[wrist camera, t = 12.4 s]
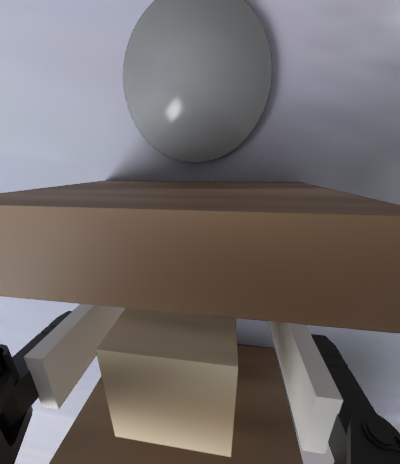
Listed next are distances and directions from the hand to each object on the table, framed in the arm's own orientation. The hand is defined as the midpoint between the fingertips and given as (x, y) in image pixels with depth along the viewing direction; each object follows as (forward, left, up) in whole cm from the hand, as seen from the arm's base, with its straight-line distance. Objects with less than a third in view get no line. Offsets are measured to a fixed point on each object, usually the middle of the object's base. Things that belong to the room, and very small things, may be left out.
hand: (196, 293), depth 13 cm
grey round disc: (-12, 0, 0) cm, 12 cm away
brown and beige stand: (+2, 0, 0) cm, 2 cm away
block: (0, 0, 0) cm, 0 cm away
